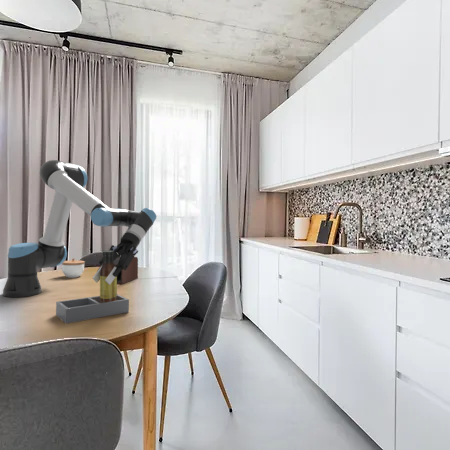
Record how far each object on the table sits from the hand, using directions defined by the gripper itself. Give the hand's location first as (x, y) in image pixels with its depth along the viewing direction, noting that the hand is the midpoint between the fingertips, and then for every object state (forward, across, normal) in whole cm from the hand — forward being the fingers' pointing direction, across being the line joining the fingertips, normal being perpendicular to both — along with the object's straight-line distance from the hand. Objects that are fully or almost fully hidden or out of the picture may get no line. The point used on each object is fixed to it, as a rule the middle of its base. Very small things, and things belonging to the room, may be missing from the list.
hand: (101, 281), depth 122 cm
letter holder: (-27, +41, -45) cm, 67 cm away
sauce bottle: (+4, 0, -9) cm, 9 cm away
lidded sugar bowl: (-21, +73, -39) cm, 86 cm away
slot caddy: (+10, +2, -8) cm, 13 cm away
